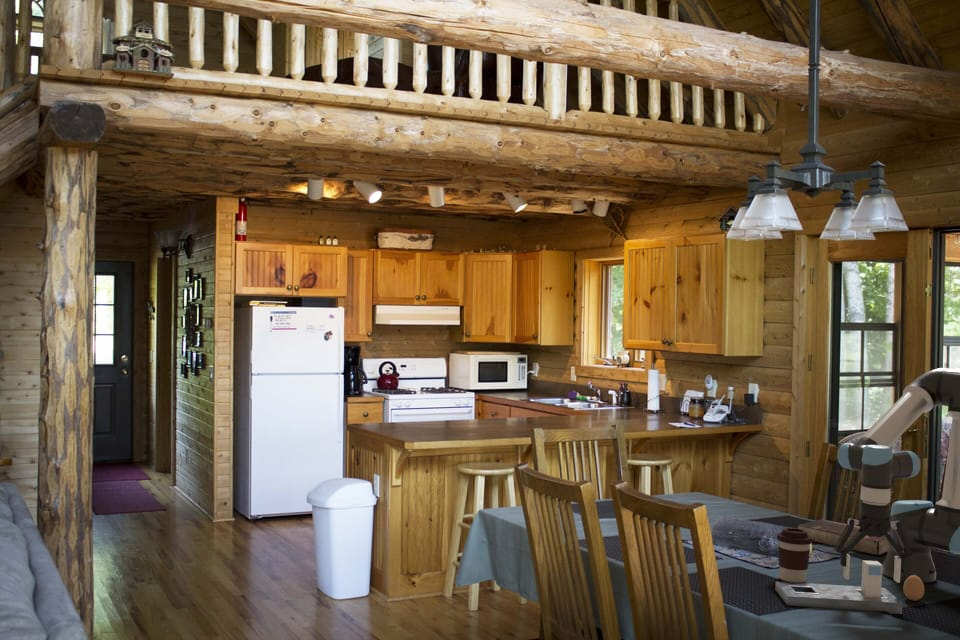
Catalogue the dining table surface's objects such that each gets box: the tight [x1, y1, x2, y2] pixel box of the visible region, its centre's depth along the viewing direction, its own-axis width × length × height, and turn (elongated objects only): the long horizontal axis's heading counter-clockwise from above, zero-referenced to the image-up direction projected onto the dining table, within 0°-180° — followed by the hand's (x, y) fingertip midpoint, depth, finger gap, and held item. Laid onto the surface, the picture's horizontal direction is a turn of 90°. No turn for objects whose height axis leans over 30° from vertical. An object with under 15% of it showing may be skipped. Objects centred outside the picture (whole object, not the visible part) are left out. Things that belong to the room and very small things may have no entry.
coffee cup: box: [776, 527, 813, 583], centre depth 288 cm, size 10×10×15 cm
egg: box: [902, 575, 925, 602], centre depth 273 cm, size 5×5×7 cm
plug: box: [860, 559, 883, 597], centre depth 267 cm, size 4×5×11 cm
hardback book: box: [797, 519, 890, 556], centre depth 341 cm, size 29×19×5 cm, turn 44°
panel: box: [774, 581, 903, 615], centre depth 268 cm, size 30×14×3 cm, turn 86°
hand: (871, 579), depth 267 cm, fingers open, 13 cm apart
